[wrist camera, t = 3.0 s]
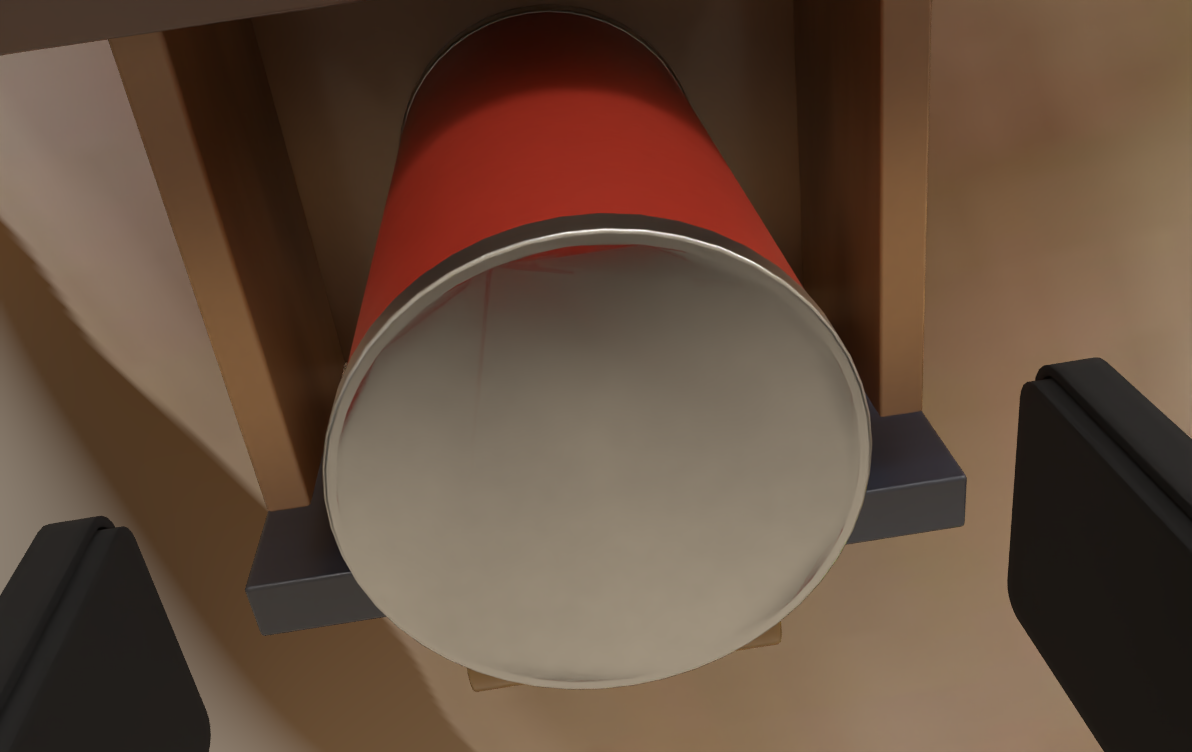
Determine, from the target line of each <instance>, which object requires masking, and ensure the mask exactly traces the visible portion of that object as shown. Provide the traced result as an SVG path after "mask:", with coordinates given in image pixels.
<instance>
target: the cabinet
mask: <svg viewBox="0 0 1192 752" xmlns="http://www.w3.org/2000/svg"><path fill="white" fill-rule="evenodd" d="M363 1H369V0H0V55H6V54H13V53H19V52H26V51H33V50H40V49H46V48H53V47H60V46H67V45H73V44H80V43H87V42H94V41H100V40H107V39H114V38H120V37H127V36H134V35H141V34H147V33H154V32H161V31H168V30H174V29H181V28H188V27H194V26H201V25H208V24H215V23H221V22H228V21H235V20H242V19H248V18H255V17H262V16H269V15H275V14H282V13H289V12H295V11H302V10H309V9H316V8H322V7H329V6H336V5H343V4H349V3H356V2H363Z"/></svg>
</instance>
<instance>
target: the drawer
mask: <svg viewBox="0 0 1192 752" xmlns="http://www.w3.org/2000/svg"><path fill="white" fill-rule="evenodd" d="M537 5H561V6H571V7H576V8H581V9H586V10H590V11H593V12H596V13H598V14H601V15H604V16H607V17H609V18H611V19H613V20H615V21H617V22H619V23H621V24H623V25H625V26H627V27H628V28H629V29H631V30H632V31H634V32H635V33H637V34H638V35H640V36H641V37H642V38H643V39H644V40H646V41H647V42H648V43H649V44H650V45H651V46H652V47H653V48H654V49H655V50H656V51H657V52H658V53H659V54H660V55H661V57H662V58H663V59H664V60H665V61H666V63H667V64H668V65H669V66H670V68H671V70H672V71H673V73H674V74H675V76H676V78H677V79H678V81H679V82H680V84H681V86H682V87H683V90H684V92H685V94H686V96H687V99H688V101H689V103H690V105H691V107H692V108H693V110H694V112H695V113H696V115H697V116H698V118H699V120H700V121H701V123H702V124H703V126H704V128H705V129H706V131H707V133H708V134H709V136H710V137H711V139H712V141H713V142H714V144H715V146H716V147H717V149H718V150H719V152H720V154H721V155H722V157H723V159H724V160H725V162H726V163H727V165H728V167H729V168H730V170H731V171H732V173H733V175H734V176H735V178H736V180H737V181H738V183H739V184H740V186H741V188H742V189H743V191H744V193H745V194H746V196H747V197H748V199H749V201H750V202H751V204H752V205H753V207H754V209H755V210H756V212H757V214H758V215H759V217H760V218H761V220H762V222H763V223H764V225H765V227H766V228H767V230H768V231H769V233H770V235H771V236H772V238H773V240H774V241H775V243H776V244H777V246H778V248H779V249H780V251H781V252H782V254H783V256H784V257H785V259H786V261H787V262H788V264H789V265H790V267H791V269H792V270H793V272H794V274H795V275H796V277H797V278H798V280H799V282H800V283H801V285H802V286H803V288H804V290H805V291H806V292H807V293H808V295H809V296H810V297H811V298H812V299H813V300H814V301H815V303H816V304H817V305H818V306H819V307H820V308H821V310H822V311H823V312H824V314H825V315H826V317H827V318H828V320H829V321H830V323H831V325H832V326H833V328H834V329H835V331H836V333H837V334H838V336H839V337H840V339H841V341H842V342H843V344H844V346H845V347H846V349H847V350H848V352H849V354H850V355H851V357H852V360H853V362H854V365H855V367H856V369H857V372H858V374H859V376H860V379H861V381H862V384H863V387H864V392H865V396H866V400H867V404H868V408H869V412H870V422H871V434H872V453H871V467H870V476H869V480H868V485H867V489H866V493H865V498H864V502H863V505H862V508H861V511H860V513H859V516H858V519H857V521H856V524H855V526H854V529H853V532H852V533H851V535H850V537H849V539H848V541H847V543H846V544H853V543H859V542H866V541H872V540H878V539H885V538H891V537H897V536H904V535H910V534H917V533H923V532H929V531H936V530H942V529H948V528H955V527H961V526H963V525H964V522H965V501H966V481H967V477H966V475H965V474H964V472H963V471H962V469H961V468H960V467H959V465H958V464H957V462H956V461H955V459H954V458H953V456H952V455H951V453H950V452H949V450H948V449H947V447H946V446H945V445H944V443H943V442H942V440H941V439H940V437H939V436H938V434H937V433H936V431H935V430H934V428H933V427H932V426H931V424H930V423H929V421H928V420H927V418H926V417H925V415H924V414H923V412H922V411H921V410H922V390H923V348H924V306H925V263H926V221H927V179H928V137H929V95H930V52H931V10H932V0H369V1H363V2H356V3H349V4H343V5H336V6H329V7H322V8H316V9H309V10H302V11H295V12H289V13H282V14H275V15H269V16H262V17H255V18H248V19H242V20H235V21H228V22H221V23H215V24H208V25H201V26H194V27H188V28H181V29H174V30H168V31H161V32H154V33H147V34H141V35H134V36H127V37H120V38H114V39H108V41H109V44H110V47H111V50H112V53H113V56H114V59H115V62H116V65H117V67H118V70H119V73H120V76H121V79H122V82H123V85H124V88H125V91H126V94H127V97H128V100H129V103H130V106H131V109H132V112H133V115H134V118H135V120H136V123H137V126H138V129H139V132H140V135H141V138H142V141H143V144H144V147H145V150H146V153H147V156H148V159H149V162H150V165H151V168H152V171H153V173H154V176H155V179H156V182H157V185H158V188H159V191H160V194H161V197H162V200H163V203H164V206H165V209H166V212H167V215H168V218H169V221H170V224H171V226H172V229H173V232H174V235H175V238H176V241H177V244H178V247H179V250H180V253H181V256H182V259H183V262H184V265H185V268H186V271H187V274H188V277H189V279H190V282H191V285H192V288H193V291H194V294H195V297H196V300H197V303H198V306H199V309H200V312H201V315H202V318H203V321H204V324H205V327H206V330H207V332H208V335H209V338H210V341H211V344H212V347H213V350H214V353H215V356H216V359H217V362H218V365H219V368H220V371H221V374H222V377H223V380H224V383H225V385H226V388H227V391H228V394H229V397H230V400H231V403H232V406H233V409H234V412H235V415H236V418H237V421H238V424H239V427H240V430H241V433H242V436H243V438H244V441H245V444H246V447H247V450H248V453H249V456H250V459H251V462H252V465H253V468H254V471H255V474H256V477H257V480H258V483H259V486H260V489H261V491H262V494H263V497H264V500H265V503H266V506H267V509H268V510H269V511H268V514H267V518H266V521H265V524H264V528H263V531H262V534H261V538H260V541H259V544H258V548H257V551H256V554H255V558H254V561H253V565H252V568H251V571H250V574H249V578H248V581H247V585H246V588H245V591H246V594H247V597H248V600H249V602H250V605H251V608H252V610H253V613H254V616H255V618H256V621H257V624H258V627H259V629H260V632H261V634H262V635H265V636H266V635H272V634H279V633H285V632H292V631H297V630H305V629H311V628H317V627H324V626H330V625H336V624H343V623H349V622H356V621H362V620H368V619H374V618H381V617H387V616H386V615H385V614H384V613H383V612H381V611H380V610H379V609H378V608H377V607H376V606H375V604H374V603H373V602H372V601H371V599H370V598H369V597H368V596H367V594H366V593H365V592H364V591H363V589H362V588H361V587H360V585H359V584H358V583H357V581H356V580H355V578H354V576H353V574H352V573H351V571H350V569H349V568H348V566H347V564H346V562H345V561H344V559H343V557H342V555H341V553H340V550H339V548H338V545H337V543H336V540H335V538H334V535H333V533H332V530H331V527H330V523H329V518H328V514H327V510H326V505H325V501H324V491H323V474H322V464H323V454H324V444H325V435H326V431H327V427H328V423H329V419H330V415H331V411H332V408H333V404H334V400H335V396H336V392H337V389H338V386H339V383H340V381H341V377H342V373H343V369H344V364H345V363H346V362H348V360H349V356H350V351H351V347H352V343H353V339H354V335H355V330H356V326H357V322H358V318H359V314H360V309H361V305H362V301H363V297H364V293H365V288H366V284H367V280H368V276H369V272H370V268H371V263H372V259H373V255H374V251H375V247H376V242H377V238H378V234H379V230H380V226H381V221H382V217H383V213H384V209H385V205H386V200H387V196H388V192H389V188H390V184H391V180H392V175H393V171H394V167H395V163H396V159H397V154H398V150H399V141H400V132H401V127H402V123H403V119H404V115H405V111H406V107H407V104H408V102H409V99H410V97H411V94H412V92H413V90H414V87H415V85H416V84H417V82H418V80H419V78H420V77H421V75H422V73H423V72H424V70H425V69H426V67H427V66H428V65H429V63H430V62H431V61H432V60H433V58H434V57H435V56H436V55H437V53H438V52H440V51H441V50H442V49H443V48H444V47H445V46H446V45H447V44H448V43H449V42H450V41H451V40H452V39H453V38H455V37H456V36H458V35H459V34H460V33H462V32H463V31H465V30H466V29H467V28H469V27H471V26H472V25H474V24H476V23H478V22H480V21H482V20H484V19H486V18H488V17H491V16H493V15H496V14H499V13H501V12H504V11H507V10H512V9H517V8H521V7H526V6H537ZM846 544H845V545H846ZM781 638H782V629H781V621H780V622H779V623H778V624H777V625H775V626H774V627H772V628H771V629H769V630H768V631H766V632H765V633H764V634H762V635H761V636H759V637H758V638H756V639H755V640H753V641H752V642H750V643H749V644H747V645H745V646H743V647H741V648H739V649H738V650H745V649H751V648H757V647H764V646H770V645H776V644H779V643H780V642H781ZM738 650H736V651H738ZM467 671H468V676H469V680H470V684H471V687H472V688H473V690H474V691H476V692H479V691H485V690H492V689H498V688H504V687H511V686H517V685H523V684H521V683H516V682H511V681H506V680H502V679H499V678H496V677H492V676H489V675H486V674H482V673H479V672H476V671H474V670H471V669H469V668H467Z"/></svg>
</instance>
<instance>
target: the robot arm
mask: <svg viewBox="0 0 1192 752" xmlns="http://www.w3.org/2000/svg"><path fill="white" fill-rule="evenodd" d="M1008 593H1009V598H1010V602H1011V605H1012V608H1013V611H1014V613H1015V615H1016V617H1017V619H1018V620H1019V622H1020V623H1021V625H1022V626H1023V628H1024V629H1025V631H1026V632H1027V634H1028V636H1029V637H1030V639H1031V640H1032V642H1033V643H1034V645H1035V646H1036V648H1037V649H1038V651H1039V652H1040V654H1041V655H1042V657H1043V659H1044V660H1045V662H1046V663H1047V665H1048V666H1049V668H1050V669H1051V671H1052V672H1053V674H1054V675H1055V677H1056V679H1057V680H1058V682H1059V683H1060V685H1061V686H1062V688H1063V689H1064V691H1065V692H1066V694H1067V695H1068V697H1069V698H1070V700H1071V702H1072V703H1073V705H1074V706H1075V708H1076V709H1077V711H1078V712H1079V714H1080V715H1081V717H1082V718H1083V720H1084V722H1085V723H1086V725H1087V726H1088V728H1089V729H1090V731H1091V732H1092V734H1093V735H1094V737H1095V738H1096V740H1097V742H1098V743H1099V745H1100V746H1101V748H1102V749H1103V751H1104V752H1192V439H1191V438H1190V437H1189V436H1188V435H1186V434H1185V433H1184V432H1183V431H1182V430H1181V429H1180V428H1179V427H1178V426H1177V425H1175V424H1174V423H1173V422H1172V421H1171V420H1170V419H1169V418H1168V417H1167V416H1166V415H1164V414H1163V413H1162V412H1161V411H1160V410H1159V409H1158V408H1157V407H1156V406H1155V405H1153V404H1152V403H1151V402H1150V401H1149V400H1148V399H1147V398H1146V397H1145V396H1144V395H1142V394H1141V393H1140V392H1139V391H1138V390H1137V389H1136V388H1135V387H1134V386H1132V385H1131V384H1130V383H1129V382H1128V381H1127V380H1126V379H1125V378H1124V377H1123V376H1121V375H1120V374H1119V373H1118V372H1117V371H1116V370H1115V369H1114V368H1113V367H1112V366H1110V365H1109V364H1108V363H1107V362H1106V361H1104V360H1103V359H1101V358H1089V359H1082V360H1076V361H1070V362H1064V363H1057V364H1051V365H1045V366H1043V367H1042V368H1040V369H1039V371H1038V373H1037V375H1036V379H1035V381H1031V382H1027V383H1025V384H1024V385H1023V388H1022V390H1021V395H1020V407H1019V421H1018V436H1017V450H1016V465H1015V479H1014V494H1013V508H1012V523H1011V537H1010V551H1009V566H1008ZM210 736H211V734H210V724H209V718H208V715H207V711H206V709H205V706H204V704H203V702H202V699H201V697H200V694H199V692H198V690H197V687H196V685H195V682H194V680H193V677H192V675H191V673H190V670H189V668H188V665H187V663H186V661H185V658H184V656H183V653H182V651H181V648H180V646H179V643H178V641H177V639H176V636H175V634H174V631H173V629H172V627H171V624H170V622H169V619H168V617H167V614H166V612H165V610H164V607H163V605H162V603H161V600H160V598H159V595H158V593H157V590H156V588H155V586H154V583H153V581H152V578H151V576H150V573H149V571H148V568H147V566H146V564H145V561H144V559H143V556H142V554H141V552H140V549H139V547H138V544H137V542H136V539H135V537H134V535H133V534H132V532H131V531H130V530H129V529H128V528H127V527H116V528H115V526H114V524H113V523H112V522H111V521H110V520H109V519H108V518H107V517H104V516H97V517H90V518H84V519H79V520H72V521H65V522H59V523H53V524H48V525H45V526H43V527H42V529H41V530H40V531H39V532H38V533H37V535H36V537H35V538H34V540H33V542H32V543H31V545H30V547H29V548H28V550H27V552H26V553H25V555H24V557H23V558H22V560H21V562H20V563H19V565H18V567H17V569H16V570H15V572H14V574H13V575H12V577H11V579H10V580H9V582H8V584H7V585H6V587H5V589H4V590H3V592H2V594H1V595H0V752H209V747H210Z"/></svg>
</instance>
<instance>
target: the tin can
mask: <svg viewBox="0 0 1192 752" xmlns="http://www.w3.org/2000/svg"><path fill="white" fill-rule="evenodd" d="M871 453H872V434H871V422H870V412H869V408H868V404H867V400H866V396H865V392H864V387H863V384H862V381H861V379H860V376H859V374H858V372H857V369H856V367H855V365H854V362H853V360H852V357H851V355H850V354H849V352H848V350H847V349H846V347H845V346H844V344H843V342H842V341H841V339H840V337H839V336H838V334H837V333H836V331H835V329H834V328H833V326H832V325H831V323H830V321H829V320H828V318H827V317H826V315H825V314H824V312H823V311H822V310H821V308H820V307H819V306H818V305H817V304H816V303H815V301H814V300H813V299H812V298H811V297H810V296H809V295H808V293H807V292H806V291H805V290H804V288H803V286H802V285H801V283H800V282H799V280H798V278H797V277H796V275H795V274H794V272H793V270H792V269H791V267H790V265H789V264H788V262H787V261H786V259H785V257H784V256H783V254H782V252H781V251H780V249H779V248H778V246H777V244H776V243H775V241H774V240H773V238H772V236H771V235H770V233H769V231H768V230H767V228H766V227H765V225H764V223H763V222H762V220H761V218H760V217H759V215H758V214H757V212H756V210H755V209H754V207H753V205H752V204H751V202H750V201H749V199H748V197H747V196H746V194H745V193H744V191H743V189H742V188H741V186H740V184H739V183H738V181H737V180H736V178H735V176H734V175H733V173H732V171H731V170H730V168H729V167H728V165H727V163H726V162H725V160H724V159H723V157H722V155H721V154H720V152H719V150H718V149H717V147H716V146H715V144H714V142H713V141H712V139H711V137H710V136H709V134H708V133H707V131H706V129H705V128H704V126H703V124H702V123H701V121H700V120H699V118H698V116H697V115H696V113H695V112H694V110H693V108H692V107H691V105H690V103H689V101H688V99H687V96H686V94H685V92H684V90H683V87H682V86H681V84H680V82H679V81H678V79H677V78H676V76H675V74H674V73H673V71H672V70H671V68H670V66H669V65H668V64H667V63H666V61H665V60H664V59H663V58H662V57H661V55H660V54H659V53H658V52H657V51H656V50H655V49H654V48H653V47H652V46H651V45H650V44H649V43H648V42H647V41H646V40H644V39H643V38H642V37H641V36H640V35H638V34H637V33H635V32H634V31H632V30H631V29H629V28H628V27H627V26H625V25H623V24H621V23H619V22H617V21H615V20H613V19H611V18H609V17H607V16H604V15H601V14H598V13H596V12H593V11H590V10H586V9H581V8H576V7H571V6H561V5H537V6H526V7H521V8H517V9H512V10H507V11H504V12H501V13H499V14H496V15H493V16H491V17H488V18H486V19H484V20H482V21H480V22H478V23H476V24H474V25H472V26H471V27H469V28H467V29H466V30H465V31H463V32H462V33H460V34H459V35H458V36H456V37H455V38H453V39H452V40H451V41H450V42H449V43H448V44H447V45H446V46H445V47H444V48H443V49H442V50H441V51H440V52H438V53H437V55H436V56H435V57H434V58H433V60H432V61H431V62H430V63H429V65H428V66H427V67H426V69H425V70H424V72H423V73H422V75H421V77H420V78H419V80H418V82H417V84H416V85H415V87H414V90H413V92H412V94H411V97H410V99H409V102H408V104H407V107H406V111H405V115H404V119H403V123H402V127H401V132H400V141H399V150H398V154H397V159H396V163H395V167H394V171H393V175H392V180H391V184H390V188H389V192H388V196H387V200H386V205H385V209H384V213H383V217H382V221H381V226H380V230H379V234H378V238H377V242H376V247H375V251H374V255H373V259H372V263H371V268H370V272H369V276H368V280H367V284H366V288H365V293H364V297H363V301H362V305H361V309H360V314H359V318H358V322H357V326H356V330H355V335H354V339H353V343H352V347H351V351H350V356H349V360H348V364H347V367H346V370H345V372H344V374H343V376H342V379H341V381H340V383H339V386H338V389H337V392H336V396H335V400H334V404H333V408H332V411H331V415H330V419H329V423H328V427H327V431H326V435H325V444H324V454H323V464H322V474H323V491H324V501H325V505H326V510H327V514H328V518H329V523H330V527H331V530H332V533H333V535H334V538H335V540H336V543H337V545H338V548H339V550H340V553H341V555H342V557H343V559H344V561H345V562H346V564H347V566H348V568H349V569H350V571H351V573H352V574H353V576H354V578H355V580H356V581H357V583H358V584H359V585H360V587H361V588H362V589H363V591H364V592H365V593H366V594H367V596H368V597H369V598H370V599H371V601H372V602H373V603H374V604H375V606H376V607H377V608H378V609H379V610H380V611H381V612H383V613H384V614H385V615H386V616H387V617H388V618H389V619H390V620H391V621H392V622H393V623H394V624H395V625H396V626H397V627H398V628H400V629H401V630H402V631H404V632H405V633H407V634H408V635H409V636H411V637H412V638H413V639H415V640H416V641H417V642H419V643H420V644H421V645H423V646H425V647H427V648H428V649H430V650H432V651H434V652H435V653H437V654H439V655H441V656H443V657H444V658H446V659H448V660H450V661H452V662H455V663H457V664H460V665H462V666H464V667H467V668H469V669H471V670H474V671H476V672H479V673H482V674H486V675H489V676H492V677H496V678H499V679H502V680H506V681H511V682H516V683H521V684H526V685H532V686H537V687H548V688H560V689H605V688H614V687H623V686H632V685H637V684H642V683H647V682H652V681H657V680H661V679H665V678H669V677H672V676H675V675H678V674H681V673H685V672H688V671H691V670H694V669H697V668H699V667H701V666H704V665H706V664H709V663H711V662H713V661H716V660H718V659H720V658H723V657H725V656H727V655H728V654H730V653H732V652H734V651H736V650H738V649H739V648H741V647H743V646H745V645H747V644H749V643H750V642H752V641H753V640H755V639H756V638H758V637H759V636H761V635H762V634H764V633H765V632H766V631H768V630H769V629H771V628H772V627H774V626H775V625H777V624H778V623H779V622H780V621H781V620H782V619H784V618H785V617H786V616H787V615H788V614H789V613H791V612H792V611H793V610H794V609H795V608H796V607H797V606H799V605H800V604H801V603H802V602H803V601H804V599H805V598H806V597H807V596H808V595H809V594H810V593H811V592H812V591H813V590H814V589H815V588H816V586H817V585H818V584H819V583H820V582H821V581H822V579H823V578H824V577H825V575H826V574H827V572H828V571H829V570H830V568H831V567H832V566H833V564H834V563H835V561H836V560H837V559H838V557H839V555H840V554H841V552H842V550H843V548H844V546H845V544H846V543H847V541H848V539H849V537H850V535H851V533H852V532H853V529H854V526H855V524H856V521H857V519H858V516H859V513H860V511H861V508H862V505H863V502H864V498H865V493H866V489H867V485H868V480H869V476H870V467H871Z"/></svg>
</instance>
